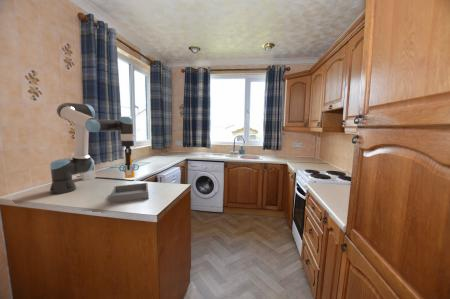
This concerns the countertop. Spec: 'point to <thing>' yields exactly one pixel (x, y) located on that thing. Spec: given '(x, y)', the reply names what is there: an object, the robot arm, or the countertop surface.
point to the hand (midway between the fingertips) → (129, 172)
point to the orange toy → (131, 169)
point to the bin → (129, 193)
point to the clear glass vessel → (88, 174)
